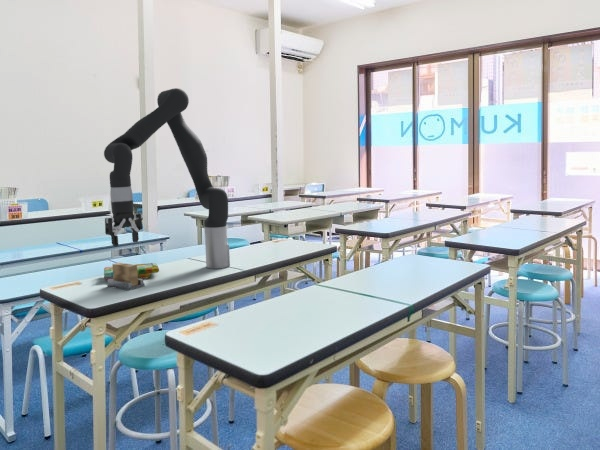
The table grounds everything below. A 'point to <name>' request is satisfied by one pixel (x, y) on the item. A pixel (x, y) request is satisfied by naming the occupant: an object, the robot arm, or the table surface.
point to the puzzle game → (142, 270)
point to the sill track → (124, 284)
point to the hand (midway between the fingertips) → (125, 244)
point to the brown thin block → (125, 273)
